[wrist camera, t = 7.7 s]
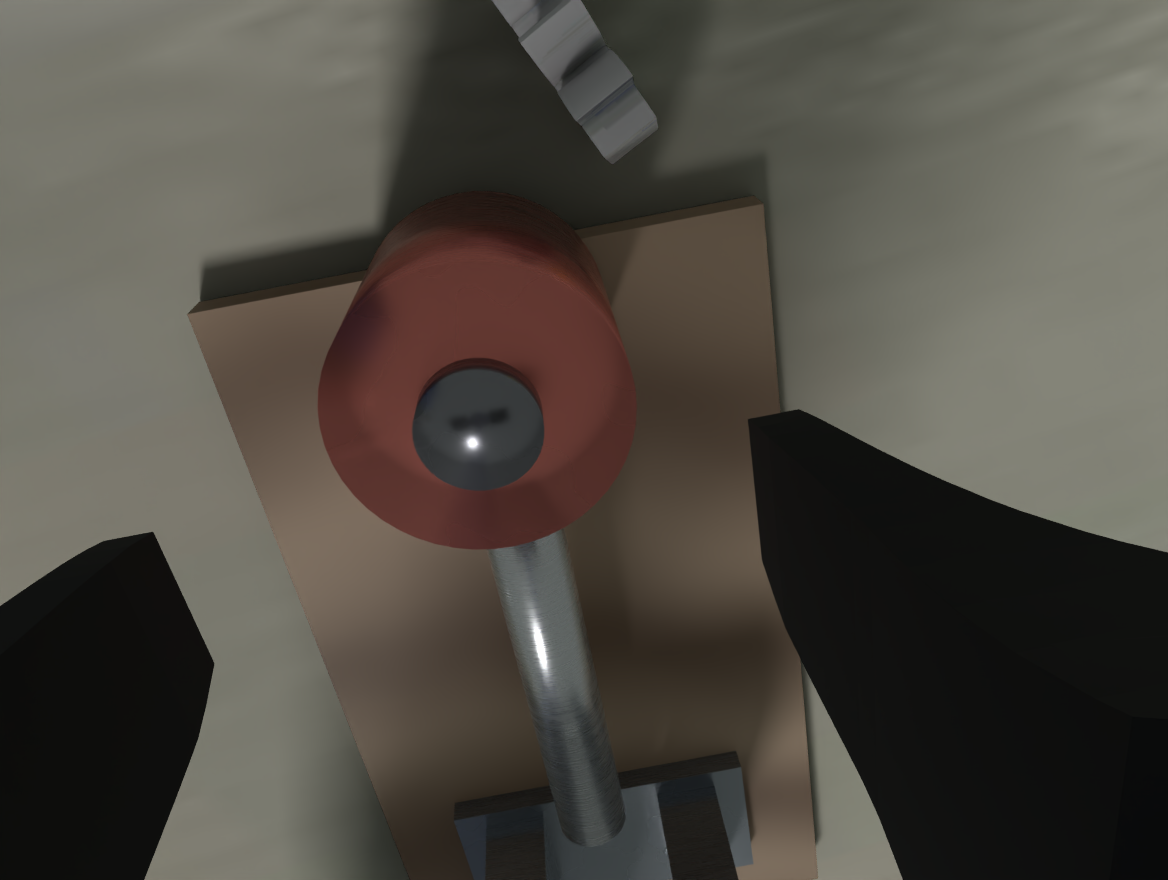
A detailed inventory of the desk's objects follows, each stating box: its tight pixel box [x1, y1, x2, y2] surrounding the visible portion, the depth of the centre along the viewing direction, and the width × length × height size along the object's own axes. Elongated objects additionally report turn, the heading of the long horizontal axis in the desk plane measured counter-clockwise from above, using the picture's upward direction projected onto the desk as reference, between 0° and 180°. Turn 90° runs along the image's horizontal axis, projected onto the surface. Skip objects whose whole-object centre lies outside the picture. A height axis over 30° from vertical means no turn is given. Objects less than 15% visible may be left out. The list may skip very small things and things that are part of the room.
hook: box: [317, 191, 637, 847], centre depth 18 cm, size 14×5×6 cm, turn 10°
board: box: [187, 196, 818, 880], centre depth 24 cm, size 21×12×1 cm, turn 10°
